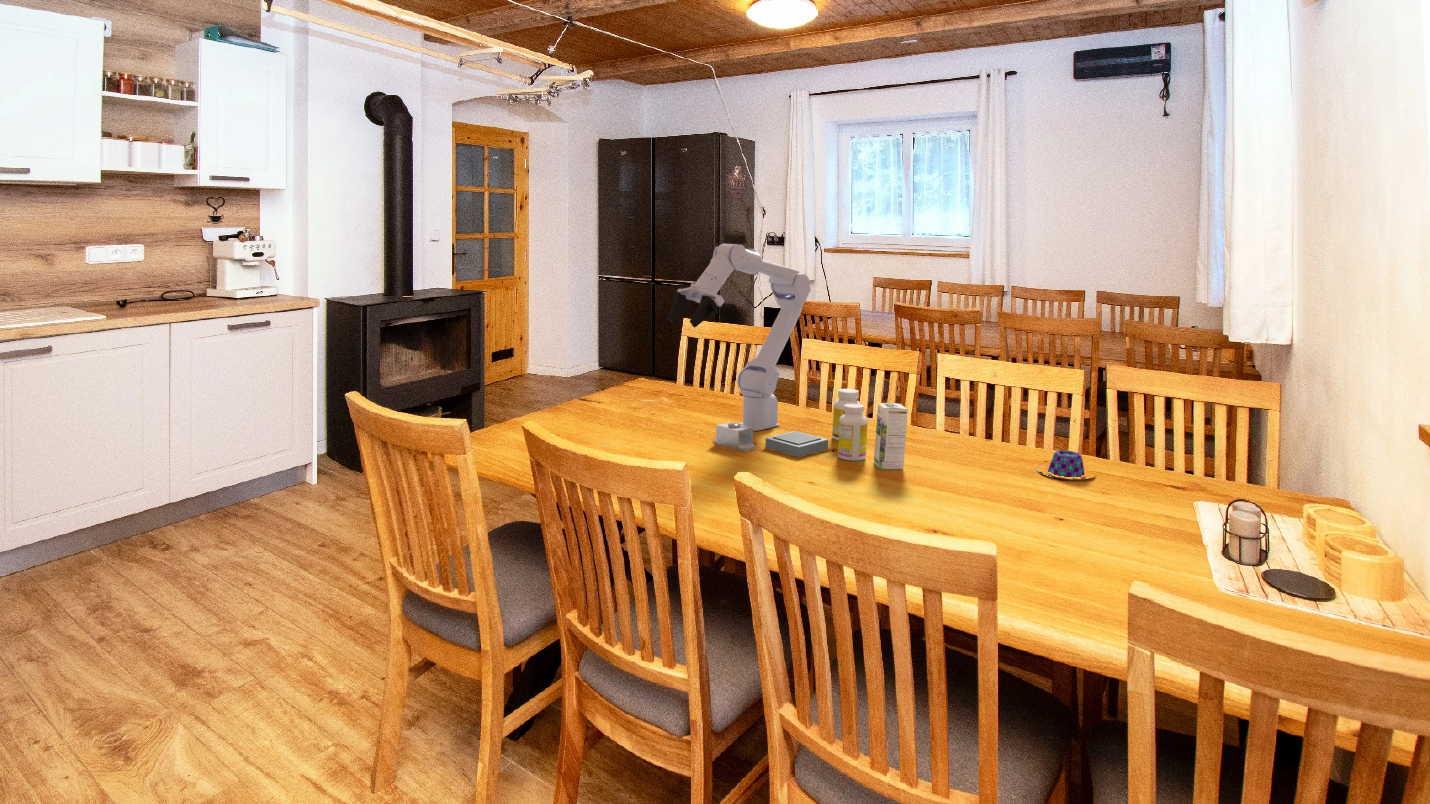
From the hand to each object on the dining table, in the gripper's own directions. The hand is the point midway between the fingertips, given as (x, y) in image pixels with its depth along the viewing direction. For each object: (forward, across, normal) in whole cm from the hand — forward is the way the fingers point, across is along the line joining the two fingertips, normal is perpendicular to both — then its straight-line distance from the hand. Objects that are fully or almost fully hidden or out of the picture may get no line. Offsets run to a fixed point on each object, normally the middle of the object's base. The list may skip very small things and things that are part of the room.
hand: (681, 322), depth 204 cm
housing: (+14, +11, +28) cm, 34 cm away
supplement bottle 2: (+5, +38, +36) cm, 53 cm away
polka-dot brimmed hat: (-14, +80, +51) cm, 96 cm away
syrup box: (+4, +48, +36) cm, 60 cm away
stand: (+7, +24, +34) cm, 42 cm away
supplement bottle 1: (-5, +27, +46) cm, 53 cm away
